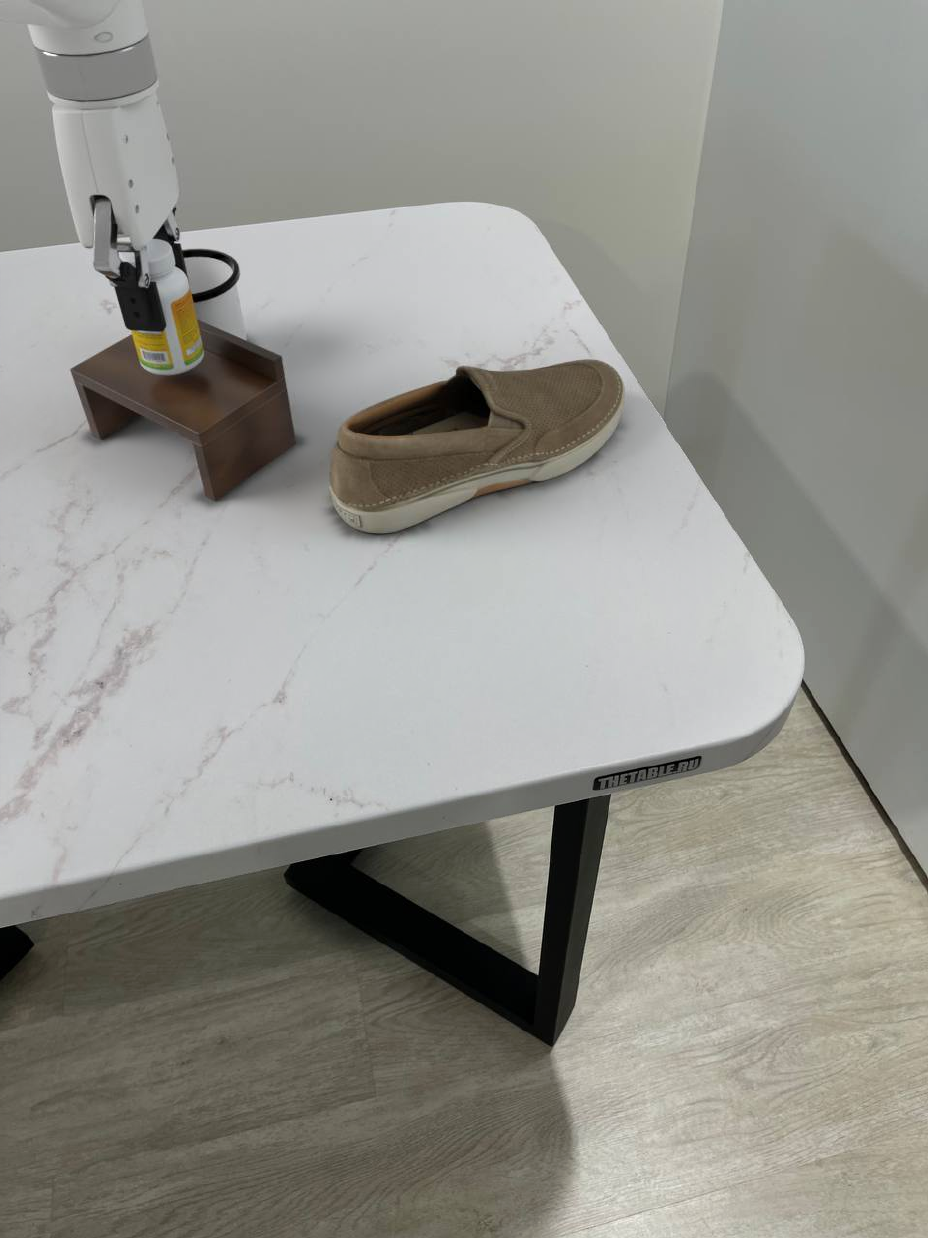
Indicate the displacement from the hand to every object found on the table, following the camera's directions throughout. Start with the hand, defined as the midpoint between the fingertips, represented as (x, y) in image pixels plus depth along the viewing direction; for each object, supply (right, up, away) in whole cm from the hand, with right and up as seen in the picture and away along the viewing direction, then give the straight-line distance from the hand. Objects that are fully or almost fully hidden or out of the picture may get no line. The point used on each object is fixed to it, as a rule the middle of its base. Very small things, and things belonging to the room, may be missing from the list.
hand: (158, 306), depth 82 cm
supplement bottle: (0, -3, +4) cm, 5 cm away
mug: (-1, +2, +20) cm, 20 cm away
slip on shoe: (+27, -11, +7) cm, 30 cm away
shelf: (0, -9, +10) cm, 13 cm away
